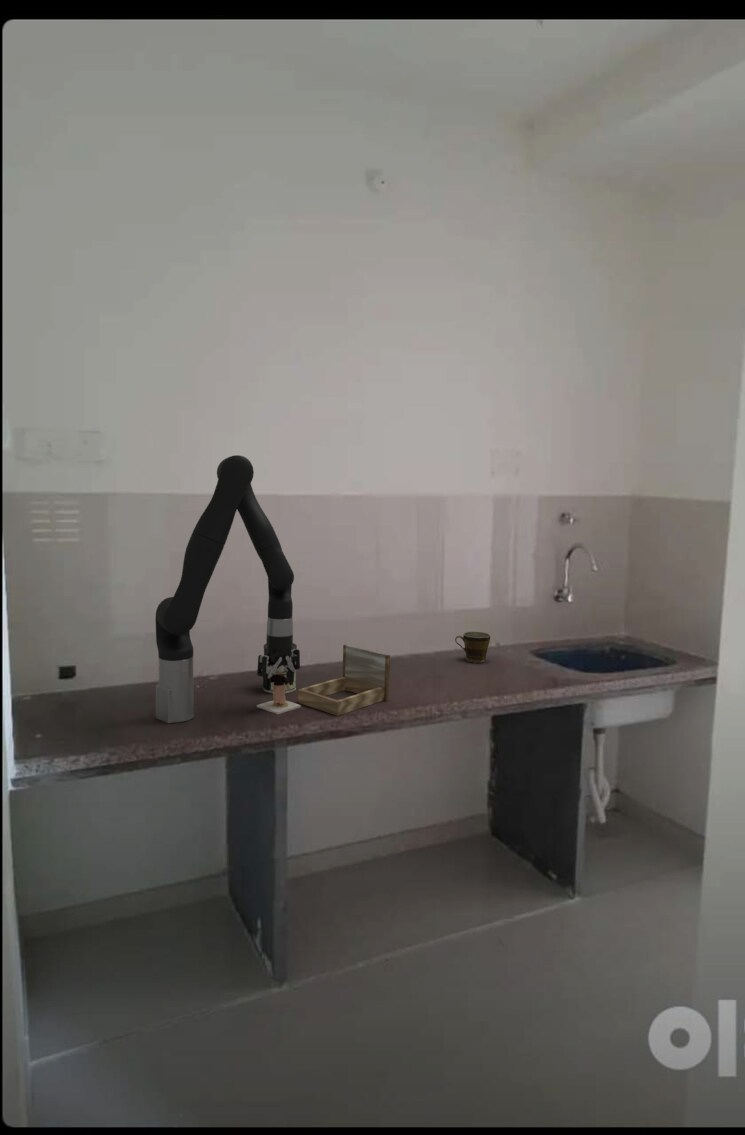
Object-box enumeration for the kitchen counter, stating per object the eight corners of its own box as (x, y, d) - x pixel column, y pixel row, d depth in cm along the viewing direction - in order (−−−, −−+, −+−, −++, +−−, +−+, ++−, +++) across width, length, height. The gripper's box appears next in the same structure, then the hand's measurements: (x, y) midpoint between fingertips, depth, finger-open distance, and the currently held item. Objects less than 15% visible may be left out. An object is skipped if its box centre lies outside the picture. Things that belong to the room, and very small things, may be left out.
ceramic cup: (486, 657, 278) (487, 631, 276) (491, 664, 268) (493, 637, 266) (451, 657, 277) (453, 631, 275) (456, 664, 267) (457, 637, 266)
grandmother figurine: (292, 704, 215) (293, 661, 214) (289, 708, 212) (290, 665, 210) (267, 702, 217) (267, 660, 215) (263, 706, 213) (264, 663, 211)
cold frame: (340, 716, 208) (341, 668, 206) (295, 701, 219) (296, 656, 218) (388, 700, 224) (390, 655, 222) (344, 687, 235) (345, 644, 234)
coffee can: (256, 690, 230) (256, 646, 228) (277, 682, 239) (277, 639, 237) (282, 696, 225) (283, 651, 223) (302, 687, 233) (303, 644, 232)
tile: (277, 714, 208) (277, 712, 208) (256, 707, 214) (256, 705, 214) (300, 707, 215) (300, 705, 215) (280, 700, 221) (280, 698, 220)
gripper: (269, 638, 203) (268, 695, 205) (306, 631, 214) (305, 685, 216) (251, 633, 208) (251, 689, 210) (289, 627, 219) (288, 680, 221)
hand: (278, 687), depth 213 cm, fingers open, 8 cm apart
